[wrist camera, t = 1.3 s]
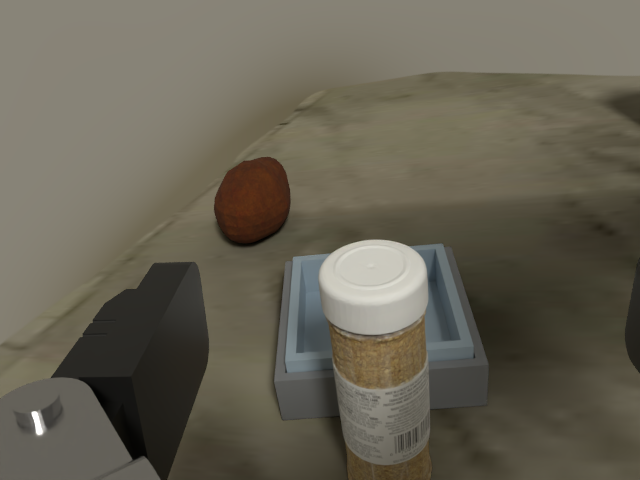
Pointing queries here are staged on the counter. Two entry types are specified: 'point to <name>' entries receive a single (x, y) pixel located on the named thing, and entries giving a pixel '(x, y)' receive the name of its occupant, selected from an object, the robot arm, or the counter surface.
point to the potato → (253, 200)
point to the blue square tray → (316, 350)
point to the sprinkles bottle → (380, 357)
